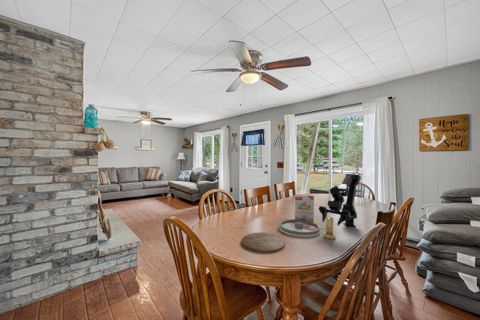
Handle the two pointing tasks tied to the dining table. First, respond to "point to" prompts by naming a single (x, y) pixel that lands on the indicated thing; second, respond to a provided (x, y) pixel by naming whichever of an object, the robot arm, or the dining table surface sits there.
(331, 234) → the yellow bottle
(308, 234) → the round grey tray
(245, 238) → the trivet
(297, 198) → the cracker box
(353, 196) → the robot arm
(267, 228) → the dining table surface
